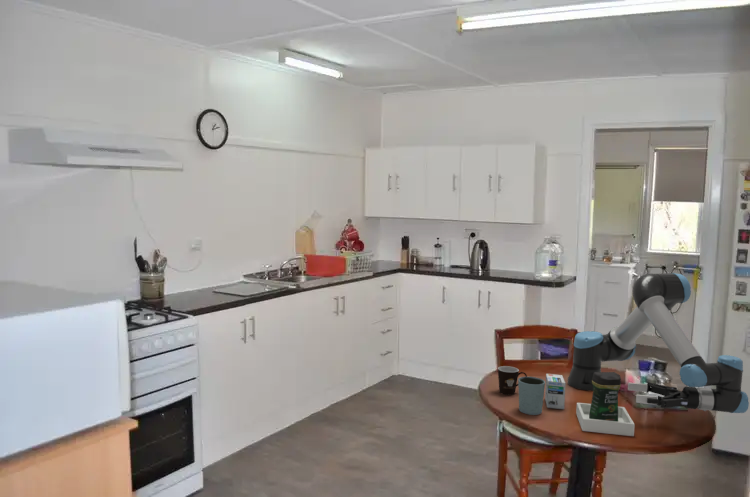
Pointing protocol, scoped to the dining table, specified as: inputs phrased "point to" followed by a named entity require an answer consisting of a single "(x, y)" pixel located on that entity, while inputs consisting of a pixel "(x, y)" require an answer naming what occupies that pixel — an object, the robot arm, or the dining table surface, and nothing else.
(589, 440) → the dining table surface
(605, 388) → the coffee jar
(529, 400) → the blue-grey cup
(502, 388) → the coffee mug
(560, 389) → the light bulb box
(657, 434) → the dining table surface
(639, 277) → the robot arm
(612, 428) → the tray
